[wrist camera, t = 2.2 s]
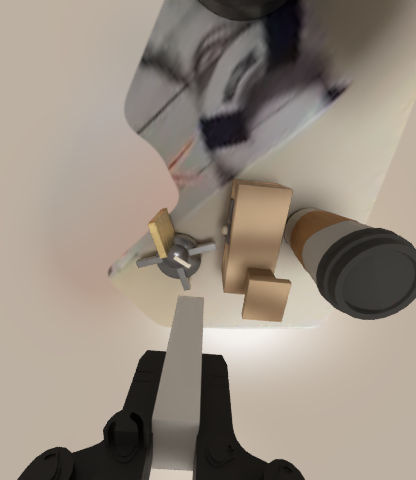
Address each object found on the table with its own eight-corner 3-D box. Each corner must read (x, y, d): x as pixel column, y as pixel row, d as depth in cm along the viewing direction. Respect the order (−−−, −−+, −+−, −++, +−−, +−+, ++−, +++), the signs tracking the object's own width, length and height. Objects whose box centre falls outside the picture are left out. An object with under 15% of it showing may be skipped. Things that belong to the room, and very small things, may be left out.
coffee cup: (285, 262, 34) (338, 336, 20) (269, 213, 31) (318, 259, 17) (339, 243, 33) (436, 307, 19) (327, 190, 30) (431, 220, 16)
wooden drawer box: (225, 178, 30) (233, 189, 19) (278, 183, 30) (314, 197, 20) (214, 269, 35) (216, 316, 24) (260, 274, 35) (281, 321, 25)
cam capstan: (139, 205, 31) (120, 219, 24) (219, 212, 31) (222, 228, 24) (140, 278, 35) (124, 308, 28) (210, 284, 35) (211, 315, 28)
